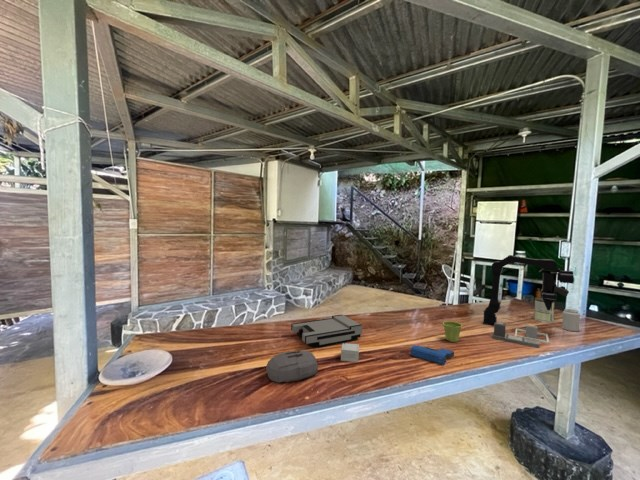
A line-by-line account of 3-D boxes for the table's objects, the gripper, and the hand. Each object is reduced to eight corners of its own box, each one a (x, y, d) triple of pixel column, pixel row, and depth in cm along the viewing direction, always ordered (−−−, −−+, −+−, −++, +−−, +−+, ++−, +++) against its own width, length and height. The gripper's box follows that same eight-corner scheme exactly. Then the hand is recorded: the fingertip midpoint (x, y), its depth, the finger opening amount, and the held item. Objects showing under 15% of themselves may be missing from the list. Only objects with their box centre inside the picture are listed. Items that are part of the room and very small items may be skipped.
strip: (492, 338, 150) (492, 335, 150) (493, 333, 157) (494, 331, 157) (539, 348, 138) (539, 345, 138) (538, 342, 145) (538, 339, 145)
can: (572, 328, 169) (572, 308, 168) (582, 332, 161) (583, 312, 161) (559, 327, 170) (559, 308, 169) (568, 331, 162) (569, 311, 162)
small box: (358, 362, 120) (358, 351, 120) (340, 361, 121) (340, 349, 121) (359, 355, 128) (359, 344, 128) (342, 353, 129) (342, 342, 129)
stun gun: (421, 340, 139) (410, 347, 127) (455, 349, 129) (446, 356, 117) (421, 348, 139) (409, 356, 127) (454, 358, 129) (445, 366, 117)
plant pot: (442, 342, 144) (443, 325, 144) (441, 335, 153) (442, 320, 153) (462, 344, 141) (463, 327, 141) (460, 338, 150) (460, 322, 150)
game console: (291, 336, 150) (291, 321, 150) (341, 328, 164) (342, 314, 164) (306, 351, 131) (306, 334, 131) (362, 340, 145) (362, 325, 145)
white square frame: (514, 337, 152) (514, 335, 152) (515, 329, 164) (515, 328, 164) (549, 343, 143) (549, 342, 143) (547, 335, 155) (547, 334, 155)
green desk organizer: (532, 316, 191) (532, 296, 190) (550, 319, 186) (551, 298, 186) (536, 321, 181) (537, 299, 181) (556, 323, 177) (557, 301, 177)
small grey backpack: (307, 361, 121) (262, 370, 113) (307, 342, 120) (262, 350, 112) (321, 378, 107) (270, 389, 99) (322, 357, 107) (271, 366, 98)
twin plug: (493, 335, 151) (494, 323, 151) (494, 332, 155) (495, 321, 155) (504, 337, 148) (505, 325, 148) (505, 334, 152) (505, 323, 152)
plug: (525, 336, 153) (526, 325, 153) (525, 334, 157) (526, 323, 157) (537, 339, 150) (537, 327, 150) (536, 336, 154) (537, 325, 154)
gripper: (570, 285, 145) (568, 315, 145) (566, 280, 160) (565, 307, 160) (542, 283, 152) (541, 311, 152) (541, 278, 167) (540, 304, 167)
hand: (548, 308), depth 158 cm, fingers open, 9 cm apart
